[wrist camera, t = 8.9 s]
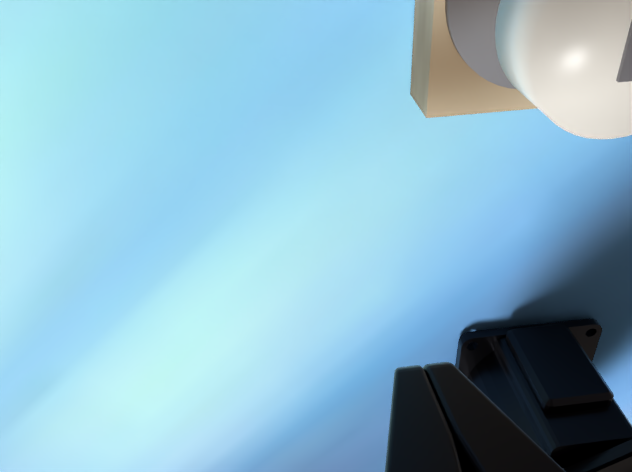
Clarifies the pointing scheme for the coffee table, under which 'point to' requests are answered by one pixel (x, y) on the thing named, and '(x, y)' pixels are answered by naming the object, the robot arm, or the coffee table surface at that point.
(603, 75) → the knob
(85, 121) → the coffee table surface
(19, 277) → the coffee table surface
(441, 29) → the panel
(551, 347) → the robot arm
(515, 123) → the coffee table surface
